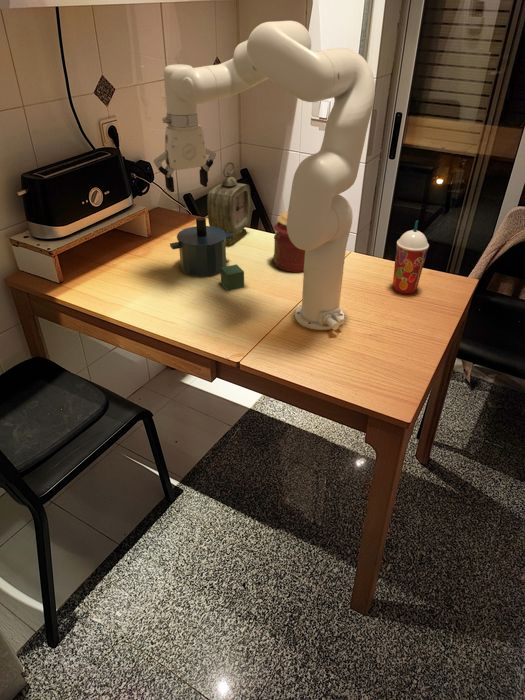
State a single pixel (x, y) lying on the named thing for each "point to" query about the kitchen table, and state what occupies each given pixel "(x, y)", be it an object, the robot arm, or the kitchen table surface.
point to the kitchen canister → (286, 248)
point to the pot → (202, 258)
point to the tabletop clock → (229, 205)
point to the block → (232, 277)
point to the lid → (201, 235)
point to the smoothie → (409, 260)
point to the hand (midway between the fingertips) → (187, 188)
